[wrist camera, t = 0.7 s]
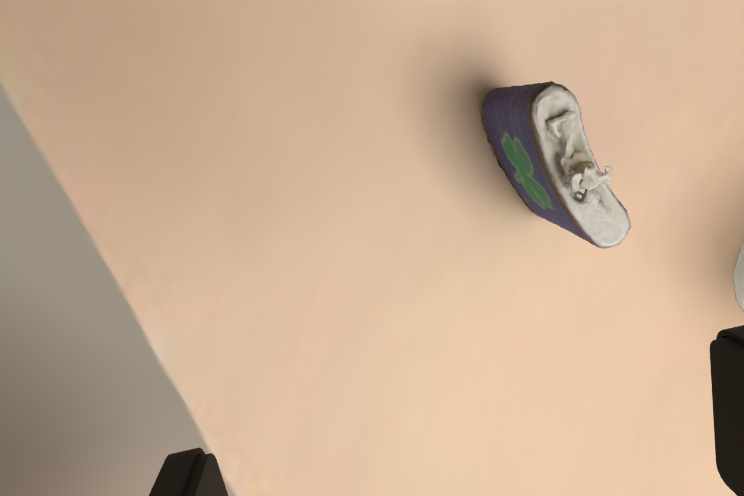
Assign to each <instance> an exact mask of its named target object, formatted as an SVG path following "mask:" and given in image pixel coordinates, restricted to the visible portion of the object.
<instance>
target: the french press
mask: <svg viewBox="0 0 744 496" xmlns="http://www.w3.org/2000/svg"><path fill="white" fill-rule="evenodd" d="M733 278H734V286H735V295H736V300H737V302H738V303H739V305H740V306H741V308H742V309H743V311H744V244H743V245H742V246H741V248H740V251H739V255H738V258H737V262H736V266H735V269H734V273H733Z"/></svg>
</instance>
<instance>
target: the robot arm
mask: <svg viewBox="0 0 744 496" xmlns="http://www.w3.org/2000/svg"><path fill="white" fill-rule="evenodd" d="M710 361H711V379H712V397H713V415H714V433H715V451H716V464H717V469H718V472H719V474H720V476H721V478H722V479H723V481H724V482H725V484H726V485H727V486H728V487H729V488H730V489H731V490H732V491H733V492H734V493H735V494H736V495H737V496H744V325H743V326H738V327H734V328H729V329H725V330H721V331H720V332H719V333H718V335H717V338H716V340H713V341H712V342H711V344H710ZM149 496H228V493H227V490H226V487H225V484H224V481H223V478H222V475H221V472H220V469H219V466H218V463H217V460H216V458H215V456H214V455H213V454H212V453H210V454H206V455H205V453H204V451H203V450H202V449H201V448H196V449H191V450H187V451H183V452H178V453H173V454H170V455H168V456H167V458H166V459H165V462H164V464H163V466H162V468H161V470H160V472H159V475H158V477H157V479H156V481H155V483H154V486H153V488H152V490H151V492H150V494H149Z"/></svg>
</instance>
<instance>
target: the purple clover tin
mask: <svg viewBox="0 0 744 496" xmlns="http://www.w3.org/2000/svg"><path fill="white" fill-rule="evenodd" d="M480 112H481V114H482V117H481V119H482V124H483V126H484V129H485V132H486V135H487V140H488V142H489V143H490V145H491V150H492V151H493V154H494V156H495V157H496V159H497V161H498V164H499V166H500V167H501V168H502V169H503V170H504V172H505V174H506V176H507V177H508V179H509V180H510V182H511V184H512V185H513V187H514V188H515V189H516V191H517V192H518V195H519V196H520V197H521V198H522V199H523V200H524V203H525V204H526V206H528V207H529V208H530V209H531V210H532V211H533V212H534V213H535V214H536V215H538V216H540V217H542V218H544V219H546V220H548V221H550V222H552V223H554V224H556V225H559V226H560V227H562V228H564V229H566V230H568V231H570V232H572V233H573V234H575V235H577V236H579V237H581V238H582V239H584V240H586V241H588V242H589V243H591V244H593V245H595V246H597V247H599V248H610V247H613V246H616V245H619V244H620V243H621V242H622V240H623V239H624V238H625V237H626V235H627V233H628V231H629V229H630V228H631V225H630V220H629V217H628V214H627V211H626V209H625V208H624V207H623V205H622V204H621V202H620V201H619V200H618V199H617V198H616V196H615V195H614V194H613V192H612V191H611V189H610V188H609V187H608V185H609V184H610V183H611V170H612V169H611V167H610V166H606V167H605V173H603V174H602V172H601V171H600V169H599V167H598V165H597V163H596V161H595V159H594V156H593V153H592V151H591V149H590V147H589V144H588V141H587V138H586V135H585V133H584V129H583V123H582V119H581V110H580V107H579V105H578V102H577V99H576V97H575V96H574V95H573V93H572V92H571V91H569V90H568V89H567V88H566V87H564V86H563V85H560V84H556V83H554V82H552V81H550V82H545V83H537V84H531V85H530V84H529V85H524V86H512V87H504V88H496V89H494V90H493V91H492V92H490V93H489V94H487V95H486V96H485V97H484V99H483V100H482V101H481V108H480Z"/></svg>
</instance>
